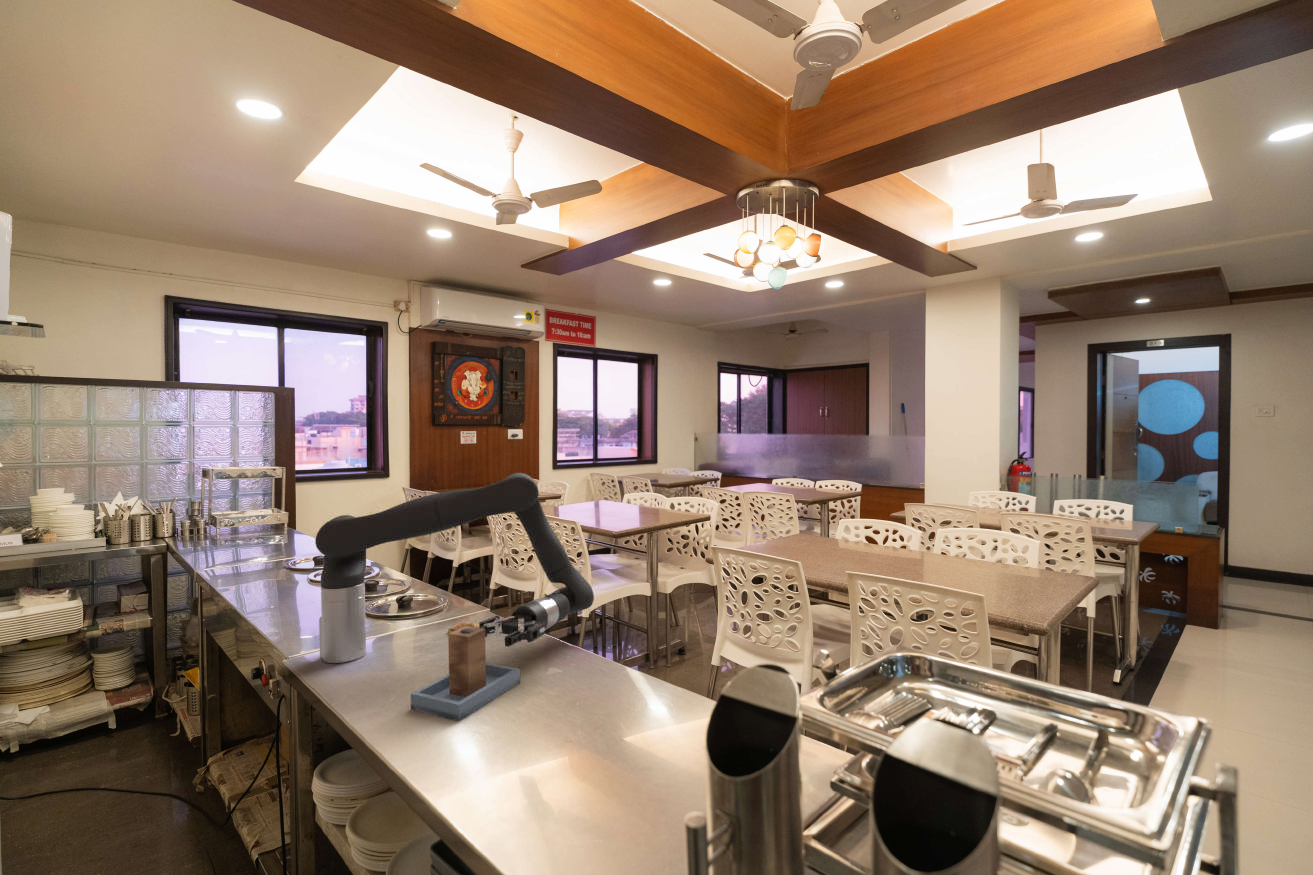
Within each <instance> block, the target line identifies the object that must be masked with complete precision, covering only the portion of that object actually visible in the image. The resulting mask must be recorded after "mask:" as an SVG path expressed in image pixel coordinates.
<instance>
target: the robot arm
mask: <svg viewBox="0 0 1313 875" xmlns="http://www.w3.org/2000/svg"><path fill="white" fill-rule="evenodd" d="M508 513H514V514H515V516H516V517H517V518H518V520H519V521H520V523H521V525H522V527H523V528H524V530H525V532H526V534H527V537H528V539H529V542H530V545H531V546H532V548H533V551H534V553H535V556H536V558H537V560H538V562H539V564H540V565H541V567H542V570H543V572H544V574H545V576H546V577H547V580H548V581H549V582H550V583H553V584H563V585H564V587H561V588H559V589H555V590H554V591H552V592H551V593H549V594H547V595H545V596H542V597H539V598H535V599H534V600H533V599H532V600H531V601H528V602H527V603H524V604H522V605H520V606H517V608H515V609H514V611H513V612H512V614H511V615H510V616H506V617H504V618H501V617H500V615H495V616H492V617H490V618H488V619H484V620H481V621H480V622H479V623H478V625H479V628H482V629H485V638H487V637H490V636H495V637H502V636H505V637H504V646H505V647H508V648H509V647H511V646H513V645H515V644H517V643H523V642H525V641H526V642H527V643H533V642H534V641H535V640H537V639H539V638H540V637H542V636H544V635H545V633H546V632H545V631H546V630H548V629H549V628H551V627H553V626H554V625H556V624H557V623H559V622H562V620H564V619H565V618H566V617H567V616H568V615H571V614H574V613H578V612H581V611H584V610H587V609H589V608H590V607H592V605H593V603H594V599H595V595H594V594H595V593H594V591H593V589H592V585H591V584H590V583H589V582H588V580H586V578H585V577H584V576H583V575H582V574H581V573H580V572H579V571H578V569H577V568H575V567H574V566H573V564H572V562H571V560H570V557H569V556H568V554H567V552H566V550H565V548H564V547H563V545H562V543H561V541H560V538H558V536H557V534H556V532H555V531H554V529H553V528H552V526H551V524H550V522H549V520H548V518H547V516H546V513H545V512H544V510H543V507H542V505H541V501H540V499H539V487H538V484H537V483H536V481H535V480H534V479H533V478H532V477H531V476H530V475H528V474H527V473H523V472H514V473H512V474H509V475H507V477H506V478H505V479H503V480H500V481H496V482H495V483H491V484H488V485H485V486H481V487H477V488H476V487H475V488H470V489H456V490H449V491H441V492H437V493H433V494H429V495H424V496H420V497H417V498H413V499H411V500H408V501H405V502H402V503H400V504H396V505H394V506H392V507H390V508H388V509H385V510H382V511H380V512H379V511H378V512H375V513H372V514H368V515H362V516H356V517H355V516H353V515H349V514H347V515H345V514H344V515H339V516H336V517H334V518H331V519H330V520H329V521H327V522H325V523H323V525H322V526H321V527H320V528H319V530H318V531H317V533H316V535H315V540H314V542H315V547H316V549H317V550H318V551H319V553H320V554H322V555H323V568H322V571H321V574H320V600H321V601H320V603H321V604H320V606H321V616H320V617H319V619H318V627H319V628H318V631H319V633H318V634H319V658H320V657H321V658H322V661H323V663H329V664H341V663H346V662H351V661H355V660H358V659H360V658H362V657H363V656H365V655H366V653H367V643H366V641H367V639H366V638H367V637H366V636H367V635H366V634H367V632H366V629H367V628H366V588H365V581H366V580H365V575H366V567H367V549H370V548H374V547H376V546H379V545H383V544H386V543H392V542H398V541H404V540H407V539H408V540H409V539H413V538H417V537H423V536H428V535H431V534H436V533H439V532H443V531H447V530H449V529H453V528H456V527H459V526H462V525H465V524H469V523H471V522H475V521H476V520H479V519H483V518H486V517H491V516H497V515H502V514H508ZM499 628H501V631H499Z"/></svg>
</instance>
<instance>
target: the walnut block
mask: <svg viewBox="0 0 1313 875" xmlns="http://www.w3.org/2000/svg"><path fill="white" fill-rule="evenodd" d="M447 635H448V636H447V637H448V639H447V640H448V641H447V642H448V674H449V693H450V694H454V695H459V696H463V697H468V696H469V695H471V694H473V693H474V692H476V691H478V690H480V689H481V688H483V687H485V686H486V663H487V662H486V659H487V657H486V637H485V629H482V628H475V627H469V626H465V627H462V628H460V629H458V630H456V631H453V632H451V633H449V632H448V634H447Z"/></svg>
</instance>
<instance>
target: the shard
mask: <svg viewBox="0 0 1313 875" xmlns="http://www.w3.org/2000/svg"><path fill="white" fill-rule="evenodd" d="M465 626H469V627H475V628H479V624H477V623H472V622H471V623H470V622H468V623H467V622H459V623H457V624H456V625H454V626H452V627H451V628H448V630H447V631H448V634H449V633H451V632H453V631H456V630H458V629H460V628H462V627H465Z"/></svg>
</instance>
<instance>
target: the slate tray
mask: <svg viewBox="0 0 1313 875" xmlns="http://www.w3.org/2000/svg"><path fill="white" fill-rule="evenodd" d="M517 684H518V685H519V684H521V669H520V668H518V667H517V668H516V667H513V666H507V665H502V664H496V663H492V662H486V686H485V687H483V688H481V689H480V690H478V691H476V692H474V693H473V694H471V695H469V696H468V697H463V696H459V695H454V694H450V693H449V673H448V674H446V675H444V676H442V677H440V678H438V679H436V680H435V681H433V682H429V684H427V685H425V686H423V687H421V688H419V689H417V690H415V691H413V692H411V693H410V710H411V711H416V712H417V711H418V712H421V713H426V714H429V715H433V716H438V717H442V718H445V719H450V720H454V721H457V722H460V721H462V720H464V719H465V718H467V717H468V716H470V715H472V714H473V713H475V712H476V711H479V710H480V709H482V707H484V706H486V705H487V704H489V703H491V702H492V701H494V700H495V699H497V698H498V696H499V697H500V696H501V694H502V695H503V694H505V693H506V692H507V691H509V689H510V690H511V689H513V688H515V687H516V686H517ZM496 697H497V698H496ZM494 698H495V699H494ZM493 699H494V700H493ZM490 701H491V702H490ZM488 702H489V703H488Z"/></svg>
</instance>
